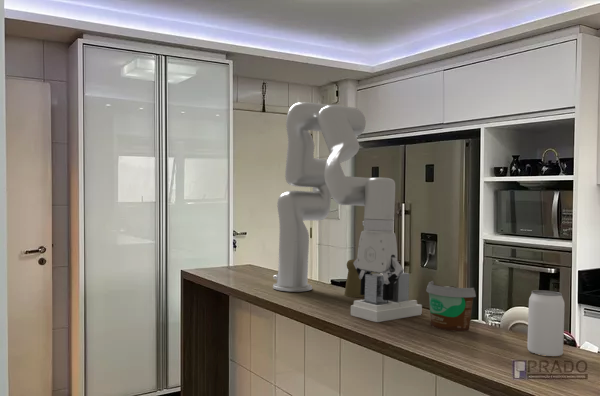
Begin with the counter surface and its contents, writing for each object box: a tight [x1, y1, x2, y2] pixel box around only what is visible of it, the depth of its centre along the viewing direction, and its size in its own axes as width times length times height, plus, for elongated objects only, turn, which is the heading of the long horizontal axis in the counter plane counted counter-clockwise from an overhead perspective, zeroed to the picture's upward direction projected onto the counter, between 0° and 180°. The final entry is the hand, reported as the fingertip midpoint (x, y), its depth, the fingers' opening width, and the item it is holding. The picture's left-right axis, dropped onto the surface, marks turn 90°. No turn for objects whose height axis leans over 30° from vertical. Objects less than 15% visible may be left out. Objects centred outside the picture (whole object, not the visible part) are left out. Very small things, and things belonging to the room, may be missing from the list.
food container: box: [426, 280, 477, 332], centre depth 124 cm, size 12×6×10 cm, turn 40°
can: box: [526, 289, 565, 357], centre depth 106 cm, size 6×6×12 cm
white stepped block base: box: [350, 272, 423, 323], centre depth 136 cm, size 9×17×10 cm, turn 129°
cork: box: [343, 258, 365, 298], centre depth 163 cm, size 6×6×11 cm
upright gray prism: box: [364, 272, 388, 305], centre depth 134 cm, size 4×4×8 cm
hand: (376, 296), depth 134 cm, fingers open, 7 cm apart
